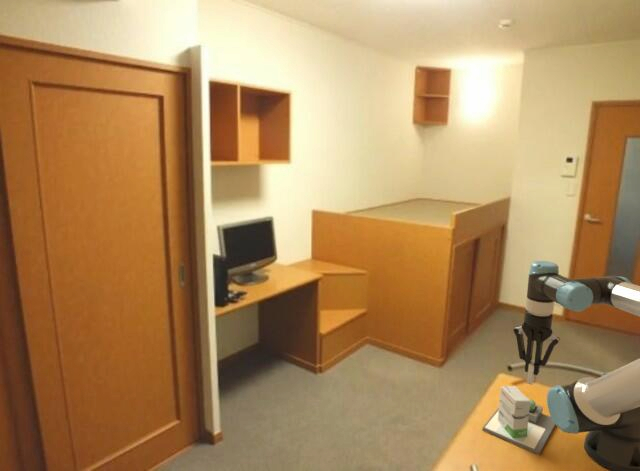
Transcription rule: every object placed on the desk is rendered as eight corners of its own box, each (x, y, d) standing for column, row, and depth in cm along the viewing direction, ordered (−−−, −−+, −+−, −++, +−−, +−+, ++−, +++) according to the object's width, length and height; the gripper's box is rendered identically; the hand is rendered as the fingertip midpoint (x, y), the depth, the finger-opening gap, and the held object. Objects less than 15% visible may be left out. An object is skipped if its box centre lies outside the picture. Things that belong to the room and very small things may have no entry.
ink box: (527, 437, 125) (531, 400, 123) (511, 438, 125) (515, 402, 122) (511, 418, 134) (515, 384, 131) (496, 419, 133) (499, 385, 131)
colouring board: (557, 421, 134) (558, 412, 133) (539, 455, 119) (540, 444, 119) (505, 401, 144) (506, 393, 144) (482, 430, 130) (483, 420, 129)
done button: (536, 408, 136) (537, 401, 135) (532, 414, 133) (533, 407, 133) (523, 403, 139) (523, 396, 138) (519, 409, 136) (519, 402, 135)
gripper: (565, 313, 128) (556, 385, 133) (520, 303, 136) (512, 370, 141) (559, 321, 122) (549, 395, 127) (512, 309, 131) (505, 379, 136)
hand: (530, 382), depth 134 cm, fingers closed
